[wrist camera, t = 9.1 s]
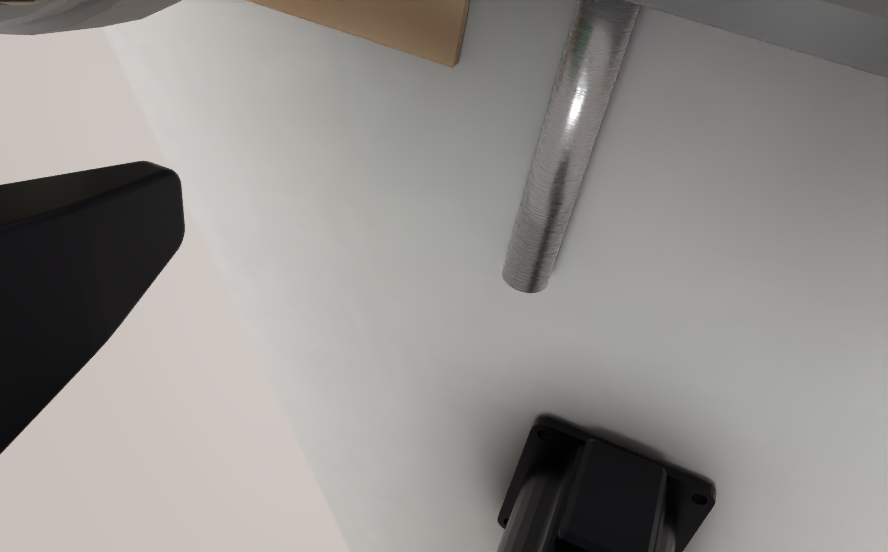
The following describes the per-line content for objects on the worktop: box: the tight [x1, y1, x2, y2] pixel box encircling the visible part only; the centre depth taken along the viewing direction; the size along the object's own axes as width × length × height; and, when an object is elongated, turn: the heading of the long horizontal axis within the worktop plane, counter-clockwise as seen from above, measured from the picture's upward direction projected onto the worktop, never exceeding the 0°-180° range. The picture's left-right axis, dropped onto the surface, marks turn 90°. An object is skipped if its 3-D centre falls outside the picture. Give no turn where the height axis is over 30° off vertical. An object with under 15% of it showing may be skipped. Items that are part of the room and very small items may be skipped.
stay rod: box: [502, 0, 640, 293], centre depth 19 cm, size 10×1×1 cm, turn 170°
